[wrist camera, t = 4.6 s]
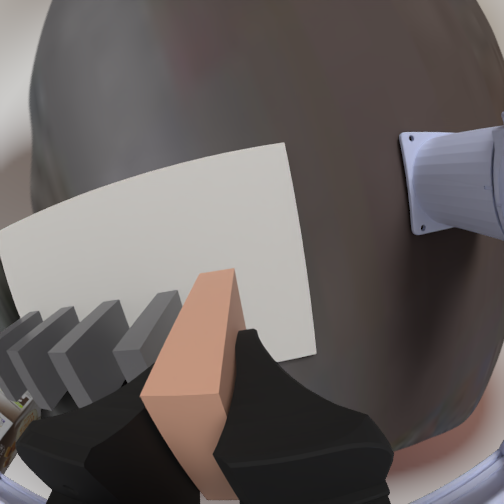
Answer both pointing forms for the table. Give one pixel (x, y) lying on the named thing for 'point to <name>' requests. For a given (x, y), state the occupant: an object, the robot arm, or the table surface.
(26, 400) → the coffee box
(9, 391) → the domino
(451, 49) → the table surface
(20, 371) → the domino
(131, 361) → the domino
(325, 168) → the table surface
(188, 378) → the domino
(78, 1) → the table surface
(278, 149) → the grey mat
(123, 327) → the domino
